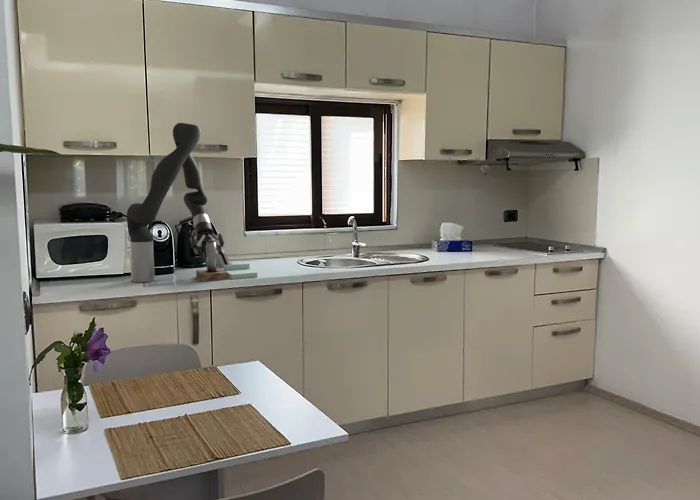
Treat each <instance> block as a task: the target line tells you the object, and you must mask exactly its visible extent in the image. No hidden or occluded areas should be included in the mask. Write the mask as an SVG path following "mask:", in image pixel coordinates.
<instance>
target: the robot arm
mask: <svg viewBox="0 0 700 500" xmlns="http://www.w3.org/2000/svg"><path fill="white" fill-rule="evenodd" d="M201 134H202V132H201V128H200V127H199V126H198V125H197V124H191V123H185V122H178V123H176V124H175V125H174V126H173V128H172V137H173V141H174V143H175V144H174V145H175V147H176V148H175V149H174V150H173V151H172V152H169V153H168V154H167V155H165V156H164V157H163V158H162V159H161V160H160V161H159V162H158V164H157V165H156V167H155V169H154V170H153V172H152V175H151V179H150V188H149V192H148V194H147V196H146V197H145V199H144V201H143V202H142V203H137V202H136V203H135V202H134V203H133V204H131V205H129V207H128V208H127V210H126V211H127V212H126V223H127V226H126V227H127V234H128V237H129V239H130V280H131V282H133V283H148V282H149V283H151V282H154V281H155V279H156V277H155V258H154V257H155V256H154V252H155V251H154V235H153V233H152V232H151V231H150V230H149V228H148V227H149V225H152V224H153V222H154V221H155V219H156V218H157V215H158V213H159V211H160V209H161V206H162V205H163V201H164V199H165V197H166V196H167V194H168V192H169V190H170V188H171V187H172V185H173V184H174V182H175V180H176V179H177V177H178V175H179V172H180V171H181V169H182V171H183V176H184V183H185V186H186V188H187V189H191V190H196V191H191V192H187V193H185V194H184V196H183V202H184V204H185V206H186V207H187V209H188V210H189V212H190V214H191V218H192V221H193V228H194V231H195V236H194V234H192V235H190V238H189V240H190V245H191V249H193V250H194V249H195V250H196V253H197V255H198V256H199V257H201V256H202V254H203V253H202V248H201V247H202V246H203V245H204V246H206V242H208V239H214V242H216V248H217V251H218V255H220V254H221V252H222V249H223V247H224V244H225V241H224V239H223V235H222V233H218V234H214V230H213V227H212V223H211V220H210V218H209V214H208V211H207V208H206V206H205V205H206V204H207V203H208V196H207V195H206V192H205V190H204V188H203V184H202V181H201V174H200V169H199V167H198V166H199V165H198V164H197V162H196V160H195V159H194V157H193V156H192V154H191V153H192V152H193V150H194V149H195V147H196V146H197V144H198V143H199V141H200V139H201ZM196 240H197V241H198V243H197V244H196ZM221 248H222V249H221Z"/></svg>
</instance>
